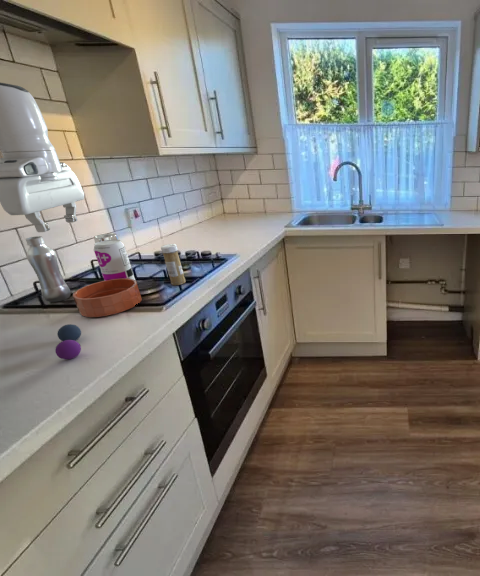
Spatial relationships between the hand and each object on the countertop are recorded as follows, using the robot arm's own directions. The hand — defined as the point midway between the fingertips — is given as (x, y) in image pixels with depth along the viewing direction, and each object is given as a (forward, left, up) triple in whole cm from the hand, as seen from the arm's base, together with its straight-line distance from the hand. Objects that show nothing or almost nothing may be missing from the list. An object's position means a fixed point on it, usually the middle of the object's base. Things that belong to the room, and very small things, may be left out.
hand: (58, 226), depth 85 cm
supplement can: (-22, +23, -27) cm, 42 cm away
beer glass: (-32, +29, -27) cm, 51 cm away
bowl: (-8, +10, -27) cm, 30 cm away
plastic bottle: (-29, +8, -27) cm, 41 cm away
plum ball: (+10, -12, -27) cm, 31 cm away
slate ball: (+2, -7, -27) cm, 28 cm away
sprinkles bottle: (-4, +30, -27) cm, 41 cm away
